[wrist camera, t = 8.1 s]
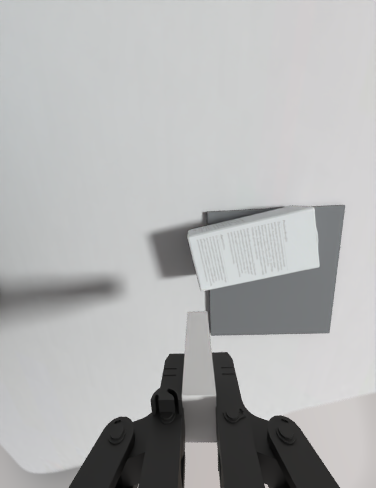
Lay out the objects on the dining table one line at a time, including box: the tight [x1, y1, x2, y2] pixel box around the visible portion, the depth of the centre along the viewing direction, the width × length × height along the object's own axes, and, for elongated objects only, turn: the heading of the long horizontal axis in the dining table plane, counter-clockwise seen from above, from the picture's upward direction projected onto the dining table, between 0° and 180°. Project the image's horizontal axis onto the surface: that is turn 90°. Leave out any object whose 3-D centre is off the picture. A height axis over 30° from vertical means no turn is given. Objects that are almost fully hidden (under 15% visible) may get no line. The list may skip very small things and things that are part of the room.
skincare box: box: [187, 205, 320, 291], centre depth 21 cm, size 6×4×12 cm
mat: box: [207, 205, 345, 336], centre depth 24 cm, size 15×16×1 cm
